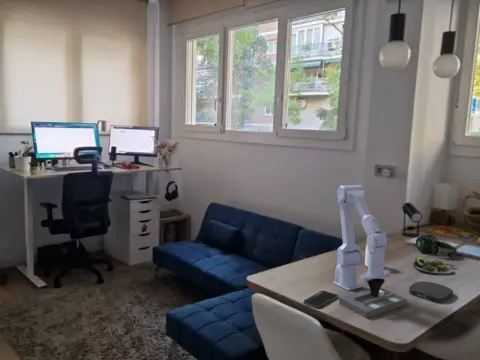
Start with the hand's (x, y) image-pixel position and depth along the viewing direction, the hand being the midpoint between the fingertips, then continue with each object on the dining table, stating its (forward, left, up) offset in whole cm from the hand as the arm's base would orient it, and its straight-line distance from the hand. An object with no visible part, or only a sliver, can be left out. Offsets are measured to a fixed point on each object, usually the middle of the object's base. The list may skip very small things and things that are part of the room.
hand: (374, 296), depth 167 cm
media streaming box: (+5, +28, -4) cm, 29 cm away
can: (-30, +32, -3) cm, 44 cm away
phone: (-13, -16, -4) cm, 21 cm away
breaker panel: (0, -1, -3) cm, 3 cm away
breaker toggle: (0, +2, 0) cm, 2 cm away
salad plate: (-14, +55, -4) cm, 57 cm away
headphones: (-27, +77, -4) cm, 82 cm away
